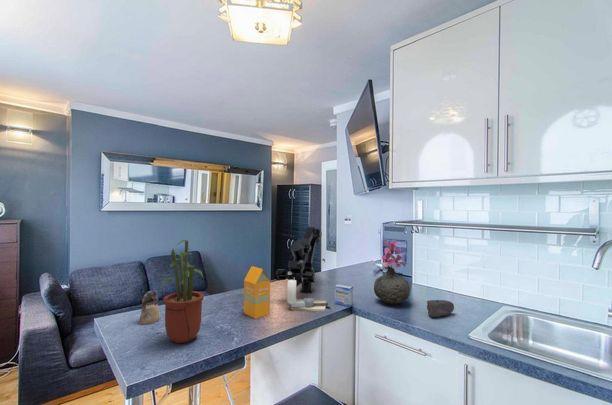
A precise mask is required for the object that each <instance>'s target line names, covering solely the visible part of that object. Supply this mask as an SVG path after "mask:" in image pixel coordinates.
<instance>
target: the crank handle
mask: <svg viewBox="0 0 612 405" xmlns="http://www.w3.org/2000/svg"><path fill="white" fill-rule="evenodd" d="M286 286H287V290H286V291H287V294H286V297H287V298H286V303H287V304H288V305H291V306H292V307H313V306H314V305H328V304H329V302H326V303H314V300H315V298H314V297H309V296H307V297H305V298H303V299H304V301H298V302H296V299H297V287H296V280H295V279H294V280H288V279H287V285H286ZM291 306H290V307H291Z"/></svg>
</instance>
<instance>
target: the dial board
mask: <svg viewBox="0 0 612 405" xmlns="http://www.w3.org/2000/svg"><path fill="white" fill-rule="evenodd" d="M298 301H304V298H303V299H301V298H296V302H298ZM314 303H327V300H320V299H314ZM327 307H331V305H330V304H329V303H328V305H314V306H313V307H292V306H290V310H291V311H301V312H303V311H304V312H305V311H306V312H320V313H321V312H323V313H325V312H326V308H327ZM329 309H330V310H332V309H333V308H329Z"/></svg>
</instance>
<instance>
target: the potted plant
mask: <svg viewBox="0 0 612 405" xmlns="http://www.w3.org/2000/svg"><path fill="white" fill-rule="evenodd" d="M181 243H184V252H183V251H182V252H181V251H180V252H179V253H178V256H179V258H177V256H176V252H175V250H174V248H172V250H171V251H170V252H171V253H170V254H171V255H170V256H171V258H172V261H171V262H170V264H169V265H170V267H172V266H173V268H174V275H175V277H169V278H166V279H164V280H163V281H162V282H161V283H160V285H159V287H158V288H157V290H155V291H156V292H157V293H158V291H159V290H160V288H162V287H163V285H165V284H166V283H168V282H169V281H171V280H174V278H175V284H176V292H172V293H169V294H168V295H166V296H164V297H163V299H162V300H163V302H162V304H164V305H165V307H164V327H165V332H166V336H167V337H168V339H169V340H170V341H172V342H174V343H177V344H184V343H188V342H190V341H192V340H193V339H194V338H196V336H197V335H198V333H199V332H200V329H201V325H202V324H201V323H202V315H203V314H202V311H203V310H202V309H203V308H202V305H203V302H202V301H203V300H204V297H205V294H204V293H203V292H201V291H197V290H195V291H194V290H193V288H194V286H193V283H194V272H197V273H199V274H200V276H201V278H202V280H203V271H201V270H200V269H198V268H195V266H194V265H191V264H190V263H189V261H188V259H189V258H188V257H189V255H192V252H189V240H188V239H182V240H181V241H180V242H178V243H177V244H176V245H175V247H178V245H180V244H181ZM183 258H184V261H183ZM178 260H179V267H178ZM192 263H196V262H194V261H193V262H192ZM179 268H180V269H179ZM179 272H180V276H179Z"/></svg>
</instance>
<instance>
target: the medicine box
mask: <svg viewBox="0 0 612 405" xmlns="http://www.w3.org/2000/svg"><path fill="white" fill-rule="evenodd" d="M353 297H354V286H351V285H345V284H336V285H335V286H334V305H339V306H345V307H348V308H349V307H351V306H352V305H354V298H353Z"/></svg>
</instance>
